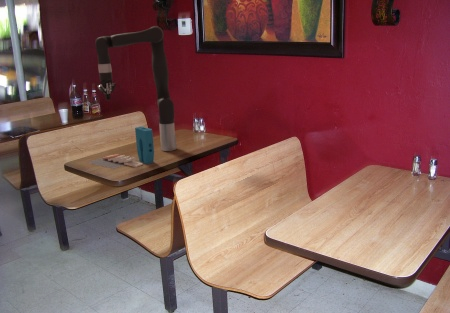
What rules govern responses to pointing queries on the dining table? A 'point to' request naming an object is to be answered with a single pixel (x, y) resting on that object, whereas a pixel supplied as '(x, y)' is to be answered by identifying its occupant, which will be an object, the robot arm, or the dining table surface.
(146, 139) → the block
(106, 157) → the terracotta tile
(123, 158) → the domino
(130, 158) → the domino
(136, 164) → the domino
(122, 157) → the domino
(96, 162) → the mat
